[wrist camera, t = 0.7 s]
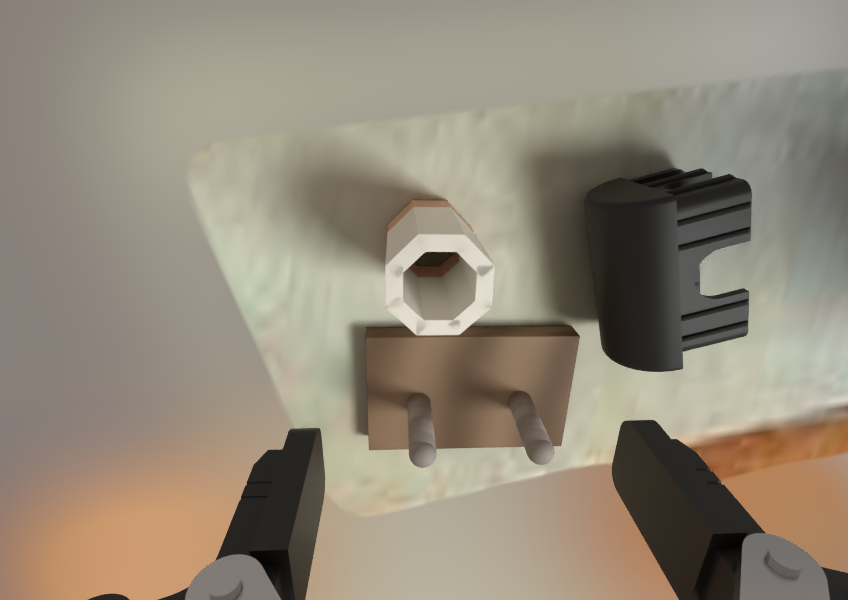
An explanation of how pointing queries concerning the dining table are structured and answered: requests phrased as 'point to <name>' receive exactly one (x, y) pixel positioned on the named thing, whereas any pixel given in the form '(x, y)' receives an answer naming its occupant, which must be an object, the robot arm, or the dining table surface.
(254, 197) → the dining table surface
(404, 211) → the sleeve
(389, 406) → the pin board
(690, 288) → the end cap
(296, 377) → the dining table surface
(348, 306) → the dining table surface
